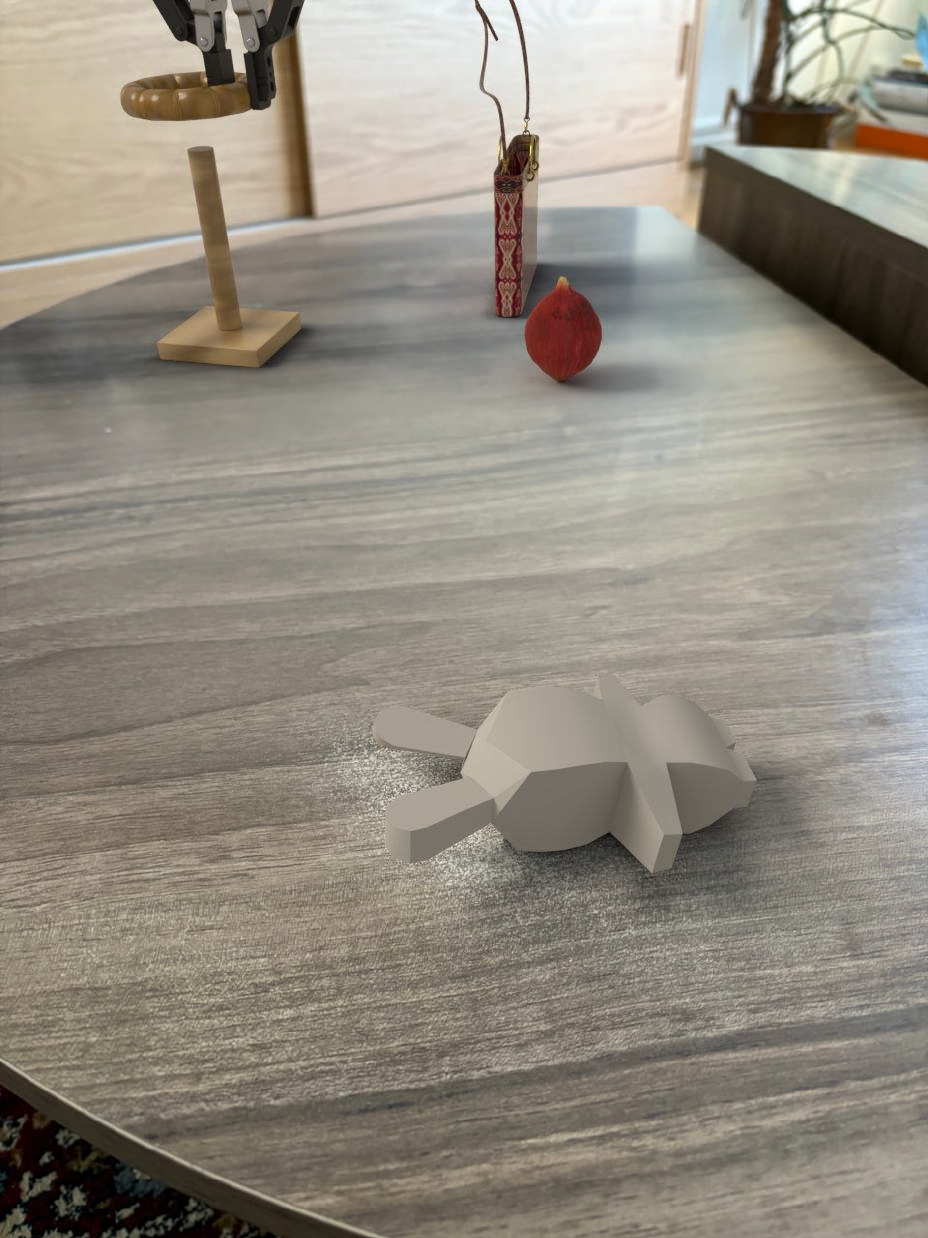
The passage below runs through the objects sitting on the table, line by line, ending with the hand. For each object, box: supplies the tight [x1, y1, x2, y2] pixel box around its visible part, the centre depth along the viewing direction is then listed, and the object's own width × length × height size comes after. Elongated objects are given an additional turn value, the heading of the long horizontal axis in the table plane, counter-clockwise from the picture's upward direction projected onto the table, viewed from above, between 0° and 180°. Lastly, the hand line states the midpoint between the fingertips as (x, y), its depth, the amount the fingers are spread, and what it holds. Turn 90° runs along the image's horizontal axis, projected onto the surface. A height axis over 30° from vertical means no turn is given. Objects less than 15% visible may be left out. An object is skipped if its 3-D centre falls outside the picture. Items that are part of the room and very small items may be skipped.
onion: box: [523, 276, 603, 383], centre depth 75 cm, size 6×6×8 cm
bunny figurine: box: [371, 671, 758, 874], centre depth 41 cm, size 10×5×15 cm
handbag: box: [474, 0, 540, 318], centre depth 89 cm, size 7×21×25 cm, turn 171°
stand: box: [156, 145, 302, 369], centre depth 81 cm, size 9×9×16 cm
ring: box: [119, 70, 253, 122], centre depth 74 cm, size 10×10×2 cm
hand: (244, 106), depth 74 cm, fingers closed on ring, 2 cm apart
